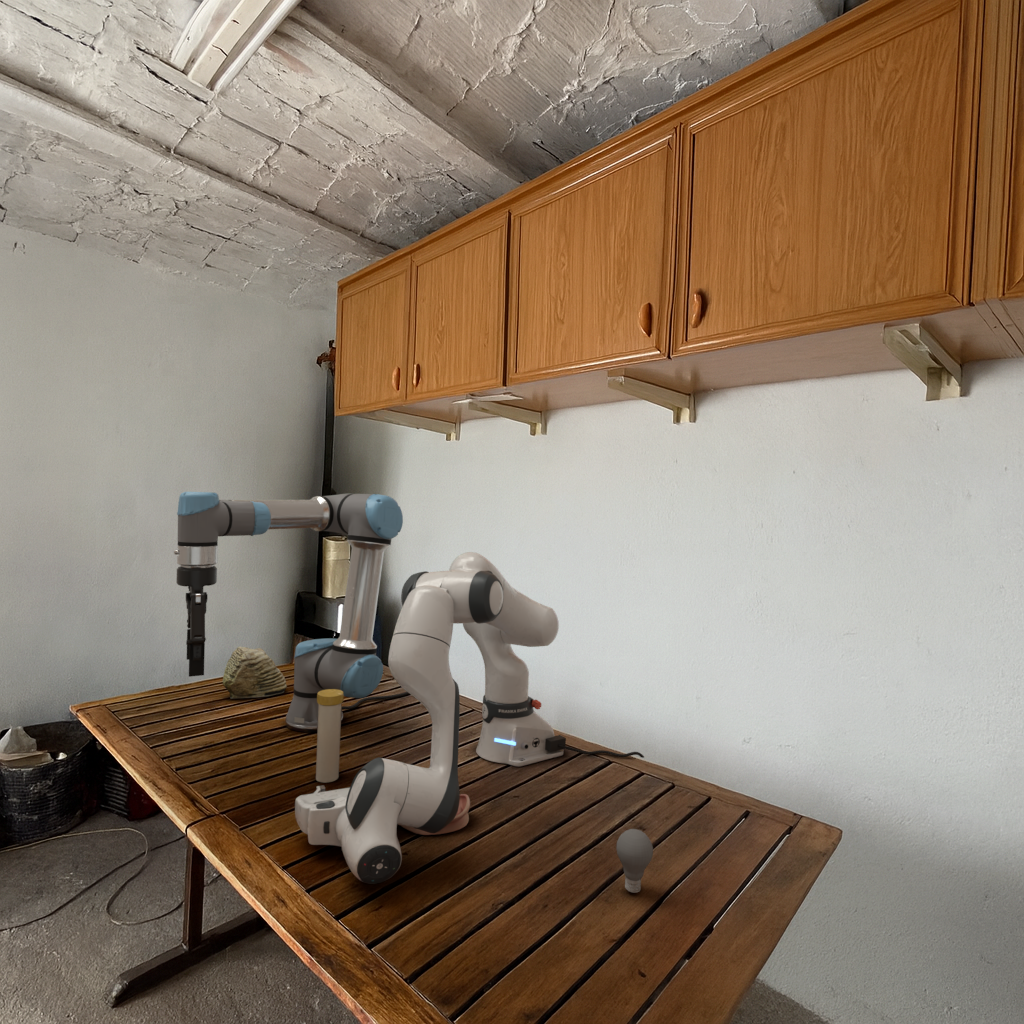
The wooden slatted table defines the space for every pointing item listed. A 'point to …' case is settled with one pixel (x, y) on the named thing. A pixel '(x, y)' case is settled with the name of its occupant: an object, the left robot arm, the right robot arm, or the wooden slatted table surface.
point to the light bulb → (634, 857)
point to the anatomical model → (456, 823)
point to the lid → (330, 697)
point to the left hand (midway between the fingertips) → (194, 666)
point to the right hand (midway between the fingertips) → (344, 785)
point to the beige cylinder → (328, 743)
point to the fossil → (252, 674)
